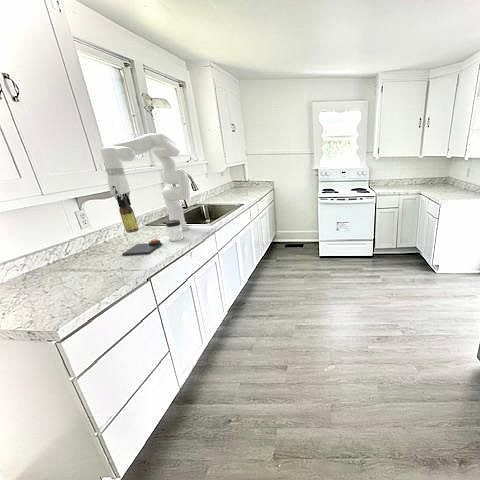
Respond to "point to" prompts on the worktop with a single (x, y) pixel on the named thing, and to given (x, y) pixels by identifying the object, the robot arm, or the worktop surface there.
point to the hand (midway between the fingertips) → (125, 205)
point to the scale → (142, 248)
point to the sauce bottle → (128, 217)
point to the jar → (174, 230)
